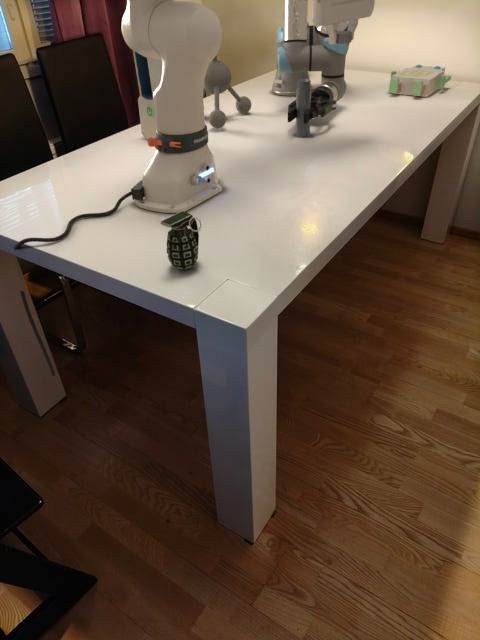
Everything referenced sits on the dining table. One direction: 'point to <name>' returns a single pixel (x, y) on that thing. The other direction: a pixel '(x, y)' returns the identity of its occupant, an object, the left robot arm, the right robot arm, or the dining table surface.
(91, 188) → the dining table surface
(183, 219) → the grenade
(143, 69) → the electronic device
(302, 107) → the grey cylinder
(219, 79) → the molecular model
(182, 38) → the left robot arm
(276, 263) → the dining table surface
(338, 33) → the lid
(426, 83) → the decorative block
